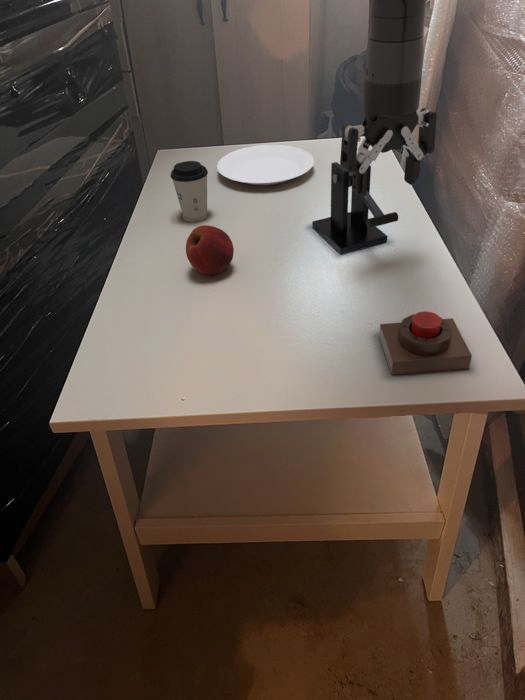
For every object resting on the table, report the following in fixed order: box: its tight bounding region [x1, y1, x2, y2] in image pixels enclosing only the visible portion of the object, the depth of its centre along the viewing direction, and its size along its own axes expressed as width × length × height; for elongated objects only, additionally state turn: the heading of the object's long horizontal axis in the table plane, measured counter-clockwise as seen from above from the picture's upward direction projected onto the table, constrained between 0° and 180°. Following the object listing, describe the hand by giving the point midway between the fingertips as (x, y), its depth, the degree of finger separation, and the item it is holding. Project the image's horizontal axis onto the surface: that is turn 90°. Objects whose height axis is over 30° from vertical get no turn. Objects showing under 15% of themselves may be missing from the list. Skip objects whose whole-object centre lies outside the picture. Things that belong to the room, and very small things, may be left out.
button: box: [411, 310, 442, 339], centre depth 75 cm, size 4×4×2 cm
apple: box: [185, 224, 235, 276], centre depth 95 cm, size 7×8×8 cm
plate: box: [216, 144, 315, 186], centre depth 126 cm, size 21×21×2 cm
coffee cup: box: [170, 160, 209, 223], centre depth 110 cm, size 7×7×10 cm
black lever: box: [349, 172, 399, 228], centre depth 94 cm, size 13×5×2 cm, turn 22°
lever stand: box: [311, 161, 388, 255], centre depth 100 cm, size 11×9×13 cm
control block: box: [378, 313, 473, 376], centre depth 77 cm, size 10×8×4 cm
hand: (385, 188), depth 88 cm, fingers open, 8 cm apart
